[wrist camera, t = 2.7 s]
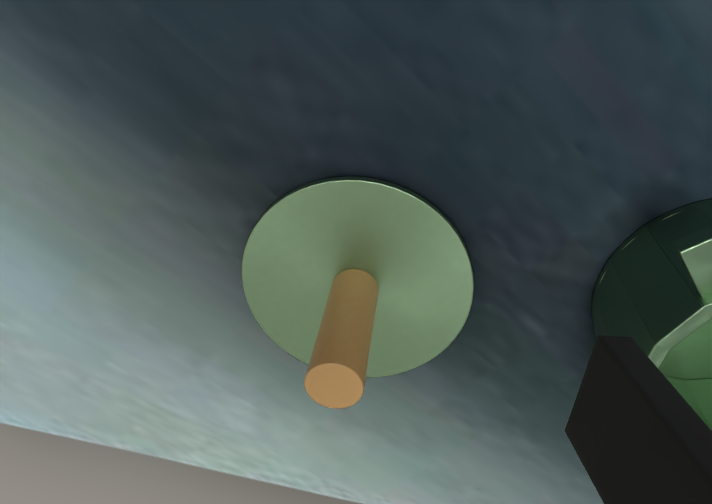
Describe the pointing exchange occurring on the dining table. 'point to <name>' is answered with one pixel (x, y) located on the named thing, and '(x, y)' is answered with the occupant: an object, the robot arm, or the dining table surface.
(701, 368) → the pot
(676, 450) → the robot arm
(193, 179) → the dining table surface
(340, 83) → the dining table surface
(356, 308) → the lid
